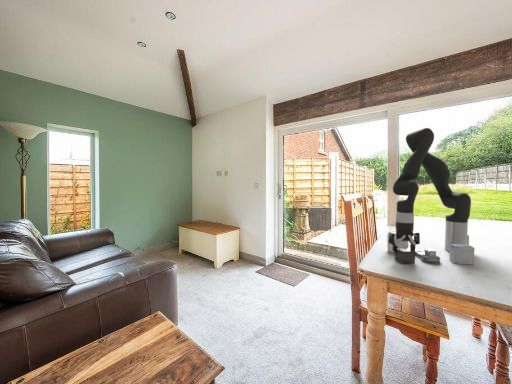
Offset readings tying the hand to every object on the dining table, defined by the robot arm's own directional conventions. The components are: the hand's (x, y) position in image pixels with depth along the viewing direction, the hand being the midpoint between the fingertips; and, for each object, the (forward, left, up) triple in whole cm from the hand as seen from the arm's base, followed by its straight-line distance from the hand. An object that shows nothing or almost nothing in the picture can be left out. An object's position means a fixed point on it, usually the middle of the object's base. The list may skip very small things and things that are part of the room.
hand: (403, 252), depth 110 cm
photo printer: (-5, -13, -5) cm, 14 cm away
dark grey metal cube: (0, 0, -5) cm, 5 cm away
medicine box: (-26, +3, -5) cm, 27 cm away
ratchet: (-13, -5, -5) cm, 15 cm away
